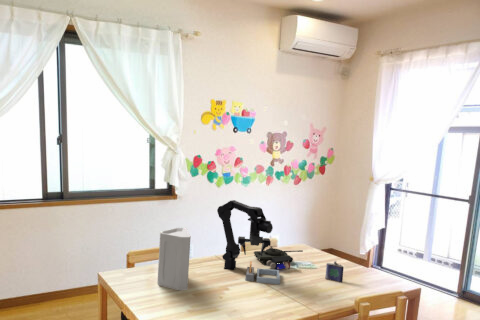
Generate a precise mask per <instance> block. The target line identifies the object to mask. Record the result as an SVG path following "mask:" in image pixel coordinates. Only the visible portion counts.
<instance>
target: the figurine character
mask: <svg viewBox="0 0 480 320" xmlns="http://www.w3.org/2000/svg"><path fill="white" fill-rule="evenodd" d="M289 261H292V262H293V260H292V259H291V258H290V257H288V256H284V257H276V258H272V261H271V260H269V261H267V265H266V266H268V267H270V268H271V270H282V269H285V270H289V269H290V268H291V265H292V264H291V263H290V262H289ZM277 262H282V263H280V264H277Z"/></svg>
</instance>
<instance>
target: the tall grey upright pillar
mask: <svg viewBox="0 0 480 320" xmlns="http://www.w3.org/2000/svg"><path fill="white" fill-rule="evenodd" d="M158 246H159V249H158V264H157V265H158V267H157V282H156V283H157V285H158V286H160V287H164V288H168V289H173V290H176V291H187V290H189V289H188V287H189V286H188V285H189V267H190V253H191V252H190V251H191V250H190V249H191V235H190V232H189V231H188V229H187V227H182V226H181V227H180V226H179V227H174V228H170V229H165V230H161V231H159V245H158Z"/></svg>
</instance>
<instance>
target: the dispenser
mask: <svg viewBox="0 0 480 320" xmlns="http://www.w3.org/2000/svg"><path fill="white" fill-rule="evenodd" d="M249 270H250V266H247V267H246V272H245V278H244V279H245V281H247V282H255V267H254V266H252V267H251V273H249Z"/></svg>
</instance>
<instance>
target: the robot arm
mask: <svg viewBox="0 0 480 320" xmlns="http://www.w3.org/2000/svg"><path fill="white" fill-rule="evenodd" d="M234 209H235V210H237V211H240V212H242V213H245V214H247V216H248V218H247V221H250V224H249V225H250V227H249V238H246V236H238V237H237V243H236V240H235V235H234V231H233V226H232V222H231V217H232V211H233V210H234ZM263 211H264V210H263V209H262V208H261V207H258V206H250V205H247V204H244V203H242V202H239V201H237V200H233V199H232V200H229V201H227V203H224V204H222V205H220V206H218V207H217V214H218V215H217V216H218V217H219V218H220V220H221V221H222V226H223V230H224V231H223V232H224V235H225V239H226V240H225V241H226V246H225V253H224V254H222V255H221V257H222V260H224V267H223V270H227V271H229V270H230V271H235V270H236V268H237V260H236V259H238V257H239V256H240V254H241V249H240V246H242V249H243V253H244V255H245V256H246V253H247V250H246V243H250V246H257V247H258V246H260V244H261V248H260V251H261V256H262V253H263V251H264V250H265V249H267V248H268V247H271V242H272V241H271V239H270V238H267V237H266V238H265V237H264V236H260V233H261V232H262V233H266V234H271V233H272V231H273V229H274V228H273V224H272V221H271V220H268V219H267V218H266V216H265V213H264V212H263Z"/></svg>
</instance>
